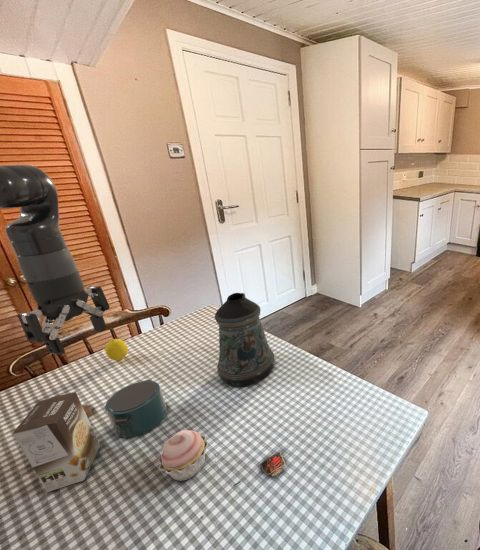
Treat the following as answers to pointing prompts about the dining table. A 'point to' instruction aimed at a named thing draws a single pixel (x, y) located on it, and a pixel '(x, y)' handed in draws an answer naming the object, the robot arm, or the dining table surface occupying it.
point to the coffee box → (58, 441)
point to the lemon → (116, 349)
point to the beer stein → (242, 343)
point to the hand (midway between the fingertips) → (81, 341)
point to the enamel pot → (136, 408)
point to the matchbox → (273, 464)
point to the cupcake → (183, 455)
